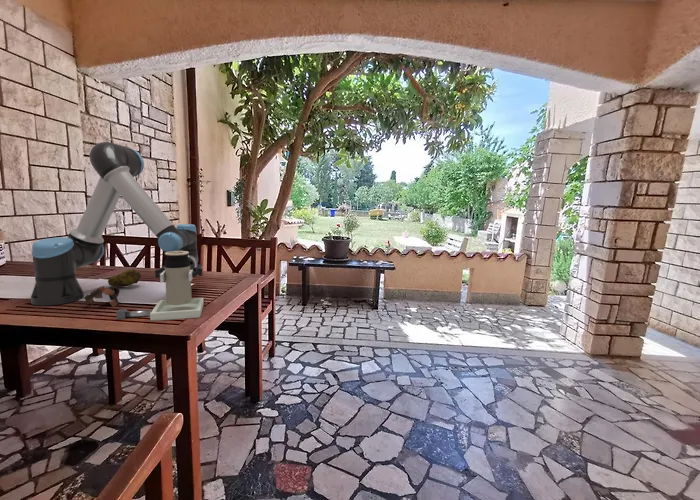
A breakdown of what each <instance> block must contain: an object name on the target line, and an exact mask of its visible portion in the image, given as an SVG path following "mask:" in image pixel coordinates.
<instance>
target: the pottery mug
mask: <svg viewBox="0 0 700 500" xmlns="http://www.w3.org/2000/svg"><path fill="white" fill-rule="evenodd" d="M103 294H105V295H106V296H108V297H109V299H110V302H109V304H110V306H111V308H115V307H116V306H118V304H120V301H119V299H118V296H119V294H120V289H119V287H118V286H110V287H109V288H108V287H107V288H106V286H104V285H103V286H100V287H98V288H96V289H95V290H93V291H91V292H90V293H89V294H86V295H84V297H83V300H84V301H85V302H84V304H85V305H87V304H89V305H90V306H93V305H94V304H95V300H94V299H103Z"/></svg>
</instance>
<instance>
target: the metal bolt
mask: <svg viewBox="0 0 700 500" xmlns="http://www.w3.org/2000/svg"><path fill="white" fill-rule="evenodd" d="M151 312H152V310H150V309H145V310H144V309H143V310H131V311H128V309H127V308H120V309H118V310H116V320H125V319H128V318H139V317H140V318H142V317H150V313H151Z"/></svg>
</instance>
